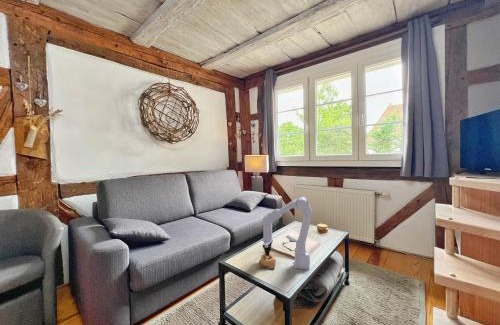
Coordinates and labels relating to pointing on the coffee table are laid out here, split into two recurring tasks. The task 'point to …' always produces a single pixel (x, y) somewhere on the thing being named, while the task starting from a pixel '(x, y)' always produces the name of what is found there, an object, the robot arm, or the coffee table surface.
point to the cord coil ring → (267, 262)
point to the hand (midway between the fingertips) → (268, 253)
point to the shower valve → (291, 239)
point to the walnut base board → (267, 266)
